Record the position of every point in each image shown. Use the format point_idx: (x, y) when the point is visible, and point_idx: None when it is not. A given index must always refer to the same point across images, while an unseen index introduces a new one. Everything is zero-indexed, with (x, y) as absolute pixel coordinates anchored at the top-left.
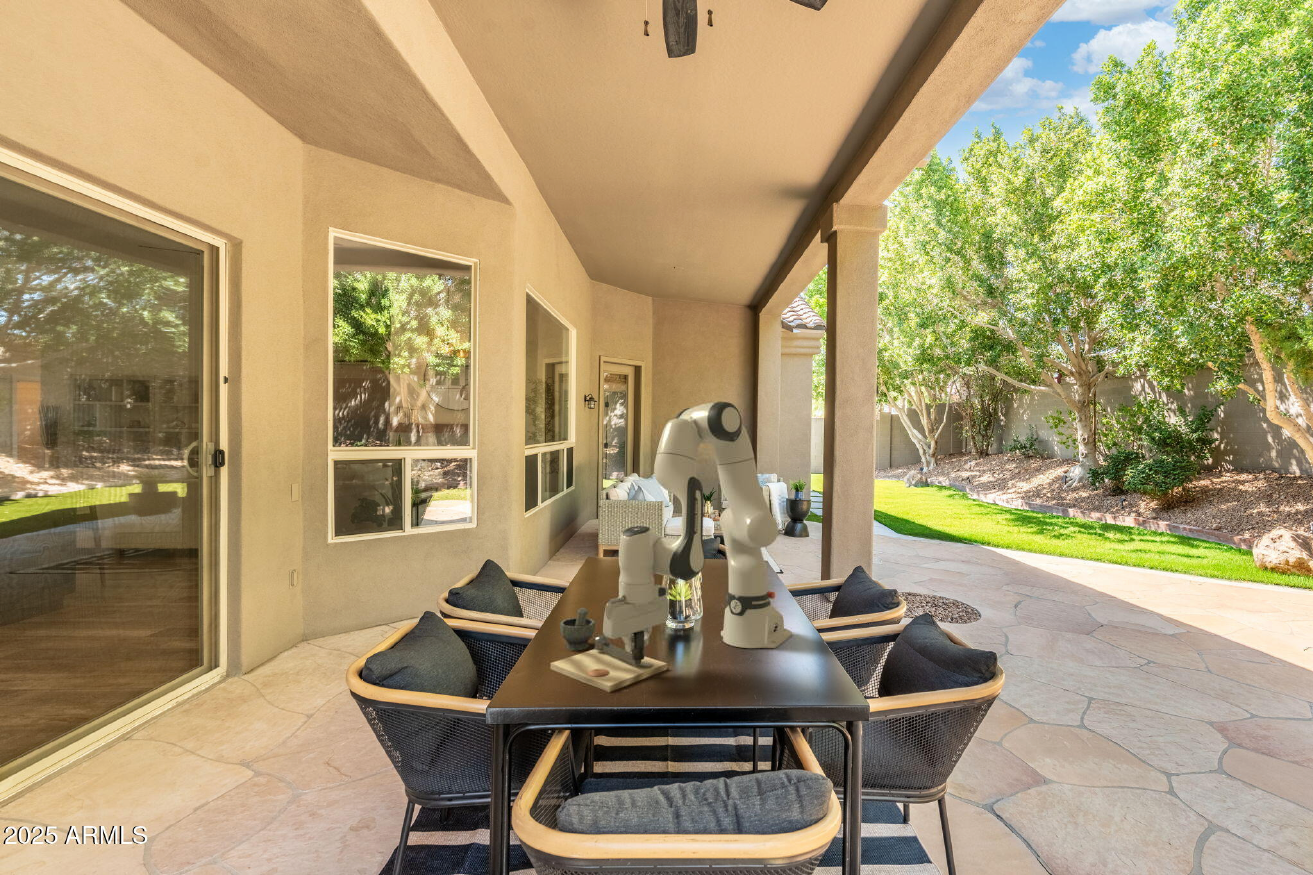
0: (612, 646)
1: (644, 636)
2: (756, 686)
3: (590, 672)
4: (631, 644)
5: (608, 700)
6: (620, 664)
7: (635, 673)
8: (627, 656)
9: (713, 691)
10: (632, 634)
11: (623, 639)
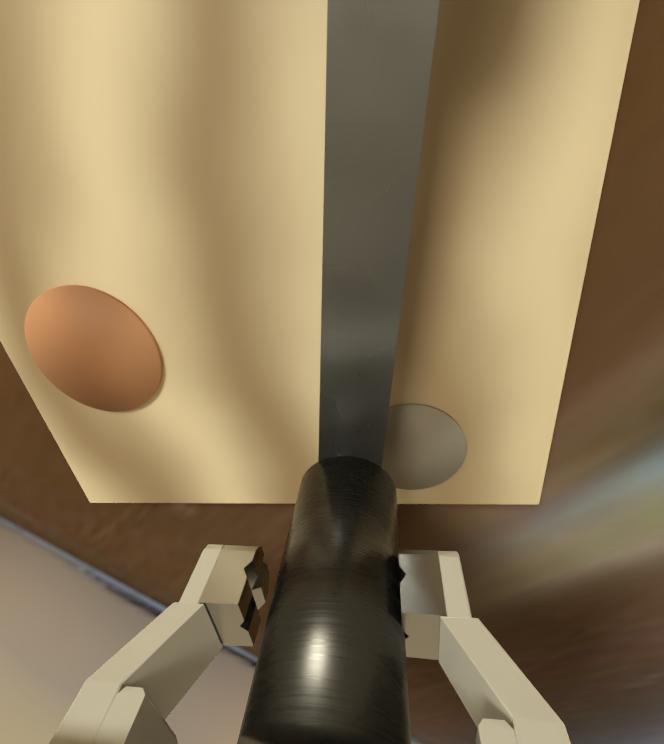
0: (388, 58)
1: (450, 654)
2: (575, 727)
3: (40, 317)
4: (217, 640)
5: (79, 523)
6: (302, 325)
7: (283, 486)
8: (321, 407)
9: (439, 676)
10: (244, 715)
11: (126, 656)
